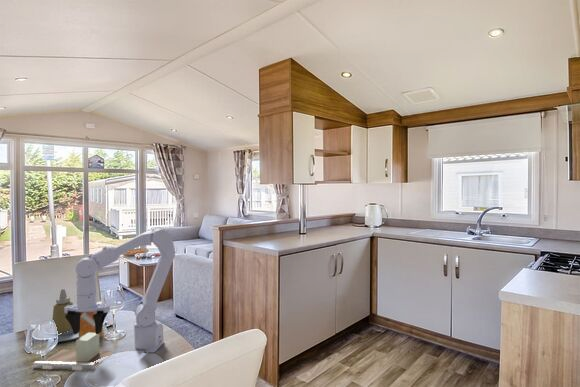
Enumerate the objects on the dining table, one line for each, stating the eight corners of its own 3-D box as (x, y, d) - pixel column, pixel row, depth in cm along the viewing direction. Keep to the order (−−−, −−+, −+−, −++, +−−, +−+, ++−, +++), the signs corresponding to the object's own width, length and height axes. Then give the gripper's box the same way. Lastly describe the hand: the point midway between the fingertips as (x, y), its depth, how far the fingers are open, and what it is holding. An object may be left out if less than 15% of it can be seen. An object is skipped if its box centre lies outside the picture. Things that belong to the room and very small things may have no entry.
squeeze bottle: (66, 337, 131) (65, 292, 131) (46, 337, 131) (45, 292, 131) (80, 328, 139) (79, 286, 139) (61, 329, 139) (60, 286, 139)
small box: (79, 343, 125) (77, 309, 125) (80, 337, 131) (78, 304, 131) (103, 338, 129) (101, 304, 129) (103, 332, 134) (102, 300, 135)
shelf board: (115, 354, 117) (115, 346, 117) (91, 374, 104) (91, 365, 104) (62, 352, 119) (62, 345, 118) (32, 372, 106) (32, 363, 106)
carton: (99, 352, 116) (99, 332, 116) (87, 361, 110) (87, 340, 110) (88, 352, 116) (88, 332, 116) (76, 361, 110) (75, 340, 110)
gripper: (114, 289, 117) (115, 327, 117) (73, 289, 117) (74, 328, 117) (102, 296, 110) (103, 336, 110) (59, 296, 110) (60, 336, 110)
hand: (87, 332), depth 113 cm, fingers open, 7 cm apart
